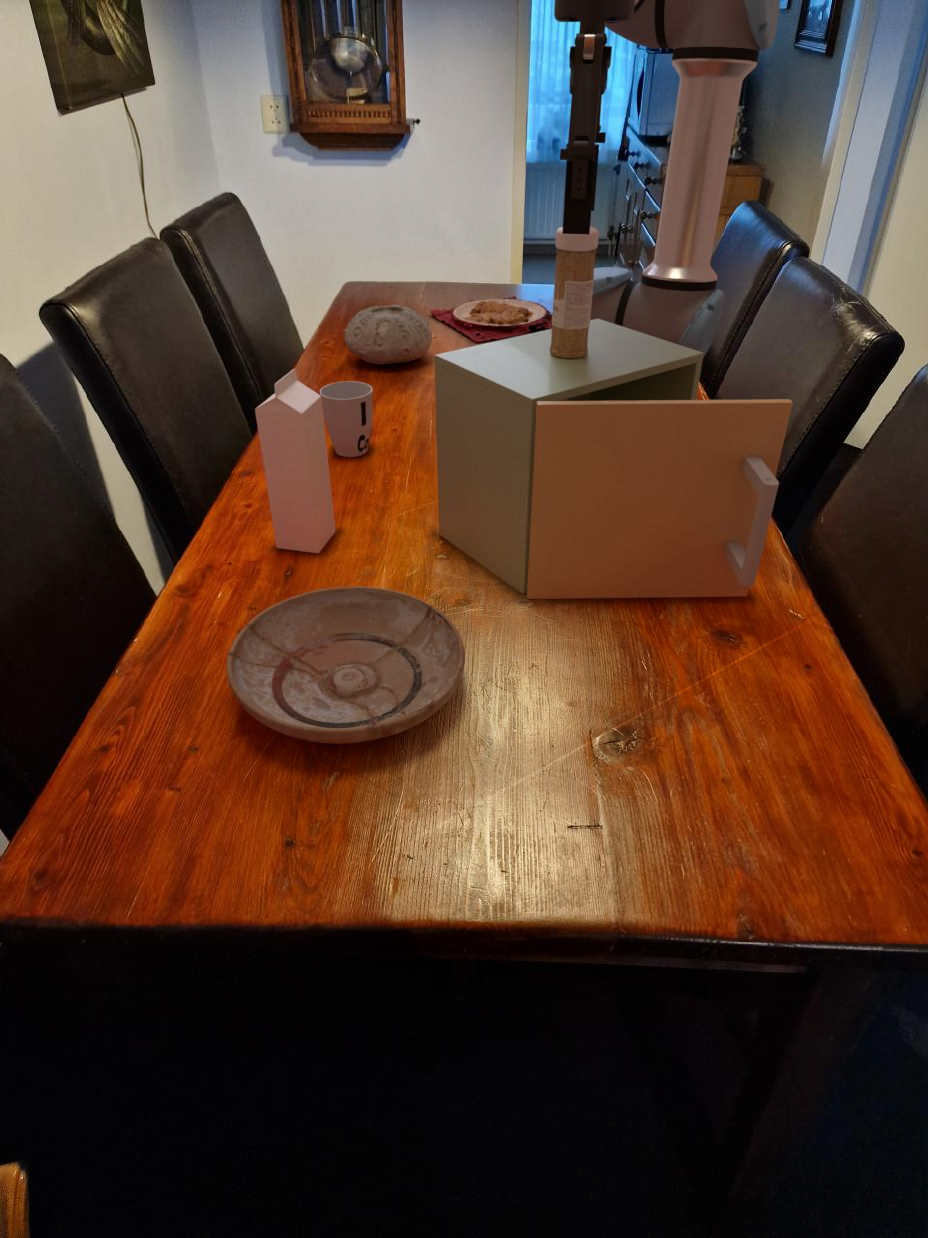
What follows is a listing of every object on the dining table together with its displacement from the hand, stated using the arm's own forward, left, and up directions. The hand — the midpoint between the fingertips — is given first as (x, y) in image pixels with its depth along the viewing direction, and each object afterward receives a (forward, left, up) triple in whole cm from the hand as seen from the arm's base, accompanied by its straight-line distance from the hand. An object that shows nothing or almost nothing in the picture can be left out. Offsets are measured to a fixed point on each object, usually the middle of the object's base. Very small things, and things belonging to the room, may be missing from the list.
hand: (579, 221), depth 88 cm
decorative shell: (-20, -76, -38) cm, 87 cm away
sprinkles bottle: (+1, 0, -14) cm, 14 cm away
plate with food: (-55, -85, -38) cm, 108 cm away
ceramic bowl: (+38, +12, -38) cm, 56 cm away
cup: (+9, -40, -38) cm, 56 cm away
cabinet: (0, 0, -38) cm, 38 cm away
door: (+5, +20, -38) cm, 43 cm away
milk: (+28, -18, -38) cm, 51 cm away
